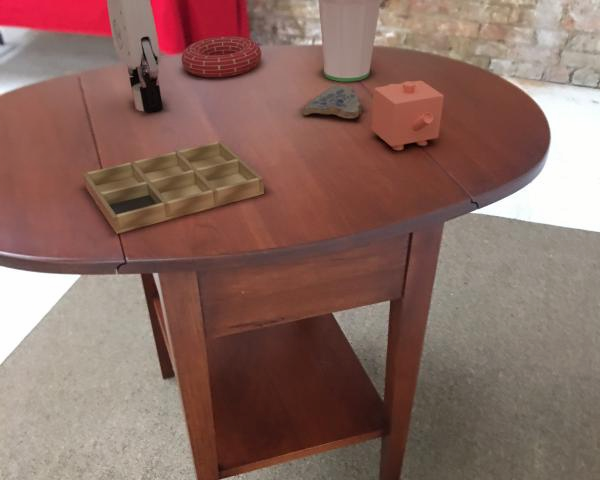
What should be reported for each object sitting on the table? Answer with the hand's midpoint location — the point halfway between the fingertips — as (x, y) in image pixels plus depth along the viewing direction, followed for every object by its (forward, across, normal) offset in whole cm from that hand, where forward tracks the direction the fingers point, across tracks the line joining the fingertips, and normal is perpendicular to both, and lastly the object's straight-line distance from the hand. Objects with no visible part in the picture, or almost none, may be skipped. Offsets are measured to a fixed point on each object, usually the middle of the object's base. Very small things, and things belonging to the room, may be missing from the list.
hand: (148, 104), depth 107 cm
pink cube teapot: (+1, +34, +29) cm, 45 cm away
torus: (+1, -12, +19) cm, 22 cm away
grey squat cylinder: (0, 0, 0) cm, 0 cm away
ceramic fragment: (+1, +18, +27) cm, 32 cm away
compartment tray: (0, +31, -7) cm, 32 cm away
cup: (+1, +4, +37) cm, 37 cm away
